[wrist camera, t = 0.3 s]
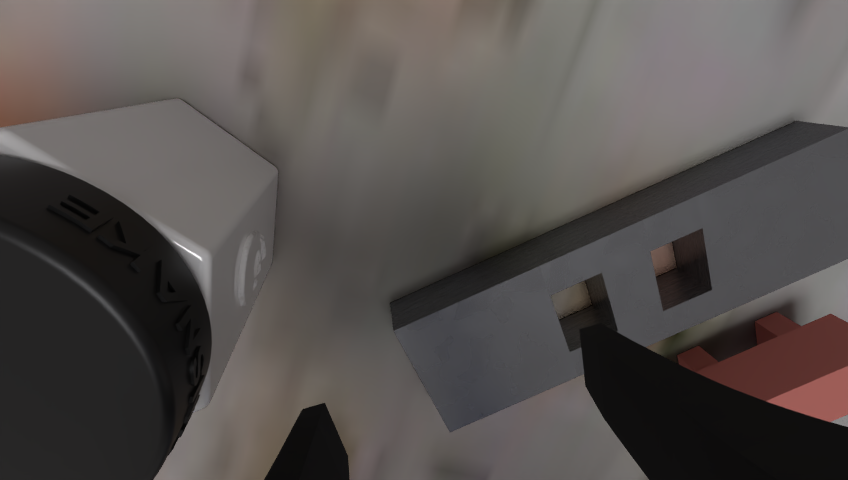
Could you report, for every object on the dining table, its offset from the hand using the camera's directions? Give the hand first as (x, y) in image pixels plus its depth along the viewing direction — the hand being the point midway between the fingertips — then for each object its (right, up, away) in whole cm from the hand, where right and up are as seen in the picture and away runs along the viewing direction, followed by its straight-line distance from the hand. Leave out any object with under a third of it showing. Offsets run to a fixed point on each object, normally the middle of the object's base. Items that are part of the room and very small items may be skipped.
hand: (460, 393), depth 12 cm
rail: (+9, +3, +11) cm, 14 cm away
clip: (+18, -2, +14) cm, 23 cm away
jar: (-11, +6, +7) cm, 15 cm away
